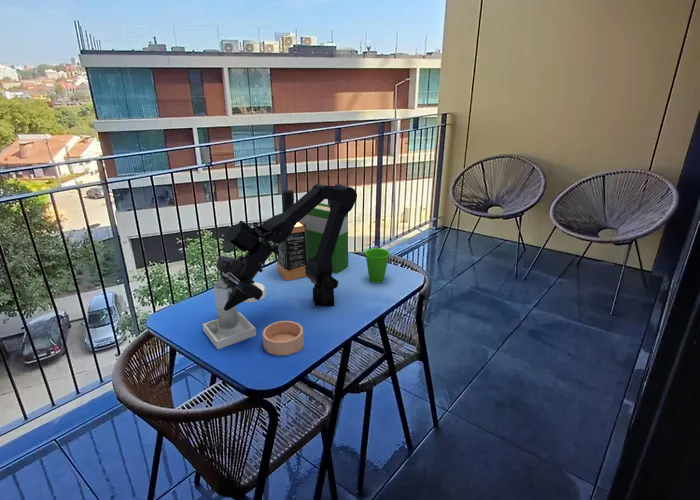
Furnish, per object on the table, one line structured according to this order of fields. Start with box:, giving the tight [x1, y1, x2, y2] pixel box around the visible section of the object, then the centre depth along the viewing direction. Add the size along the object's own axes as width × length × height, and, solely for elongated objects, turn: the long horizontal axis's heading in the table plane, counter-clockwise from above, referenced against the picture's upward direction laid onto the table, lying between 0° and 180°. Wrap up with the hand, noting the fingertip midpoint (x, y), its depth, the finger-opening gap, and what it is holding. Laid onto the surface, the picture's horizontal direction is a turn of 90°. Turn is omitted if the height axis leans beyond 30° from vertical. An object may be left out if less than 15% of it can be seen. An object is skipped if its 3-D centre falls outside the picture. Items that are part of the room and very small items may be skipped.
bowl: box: [262, 320, 305, 356], centre depth 113 cm, size 11×11×4 cm
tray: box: [202, 311, 257, 350], centre depth 118 cm, size 11×11×3 cm
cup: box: [364, 247, 391, 284], centre depth 149 cm, size 9×9×11 cm
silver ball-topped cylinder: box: [213, 279, 238, 329], centre depth 114 cm, size 5×5×14 cm
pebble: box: [209, 324, 218, 333], centre depth 118 cm, size 2×2×2 cm
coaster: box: [242, 281, 266, 303], centre depth 139 cm, size 10×10×4 cm
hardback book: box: [300, 202, 349, 275], centre depth 160 cm, size 18×7×24 cm, turn 54°
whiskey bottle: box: [276, 189, 307, 281], centre depth 151 cm, size 10×10×32 cm
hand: (221, 305), depth 114 cm, fingers closed on silver ball-topped cylinder, 5 cm apart
